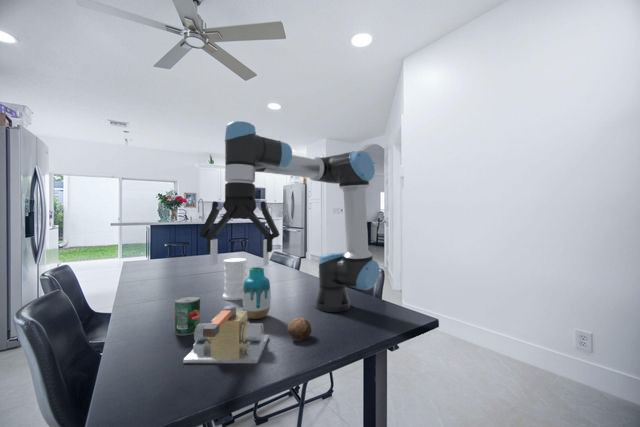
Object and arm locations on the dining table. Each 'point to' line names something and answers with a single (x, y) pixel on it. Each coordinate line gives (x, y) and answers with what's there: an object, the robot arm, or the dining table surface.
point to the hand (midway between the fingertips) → (239, 264)
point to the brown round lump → (299, 329)
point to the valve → (229, 342)
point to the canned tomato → (187, 314)
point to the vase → (256, 294)
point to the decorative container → (234, 278)
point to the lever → (219, 321)
